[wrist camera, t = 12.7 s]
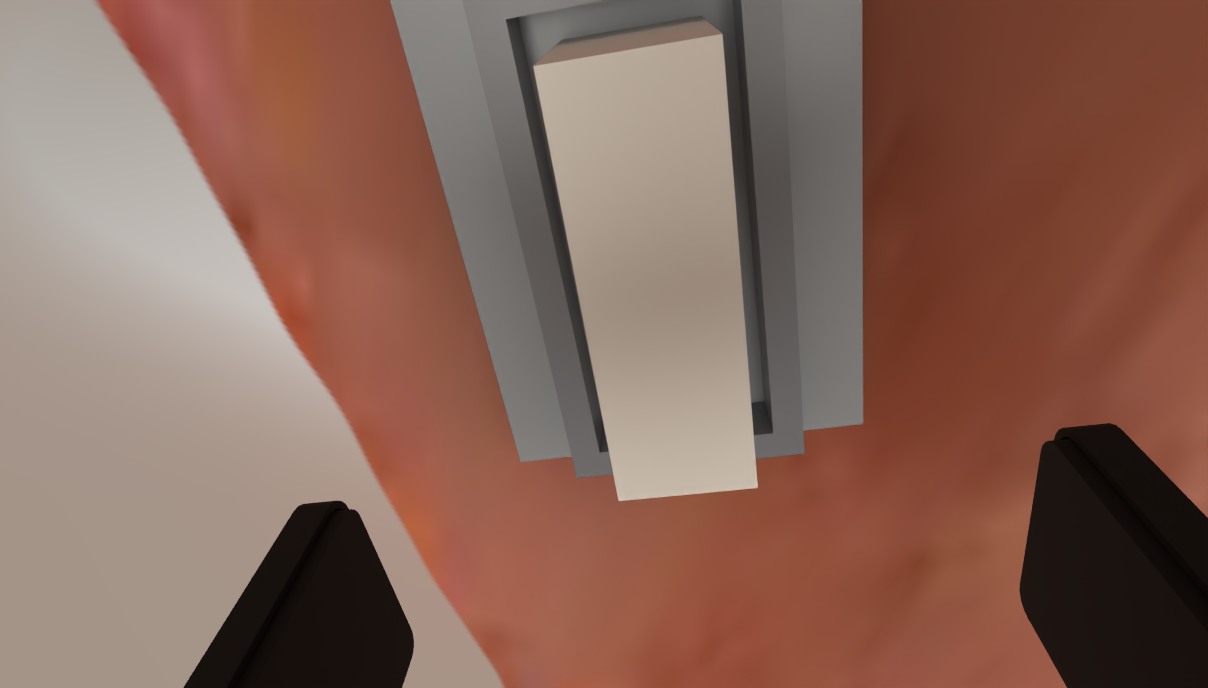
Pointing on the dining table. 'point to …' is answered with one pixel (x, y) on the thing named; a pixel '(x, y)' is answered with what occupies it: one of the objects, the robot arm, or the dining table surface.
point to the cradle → (762, 194)
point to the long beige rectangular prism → (655, 250)
